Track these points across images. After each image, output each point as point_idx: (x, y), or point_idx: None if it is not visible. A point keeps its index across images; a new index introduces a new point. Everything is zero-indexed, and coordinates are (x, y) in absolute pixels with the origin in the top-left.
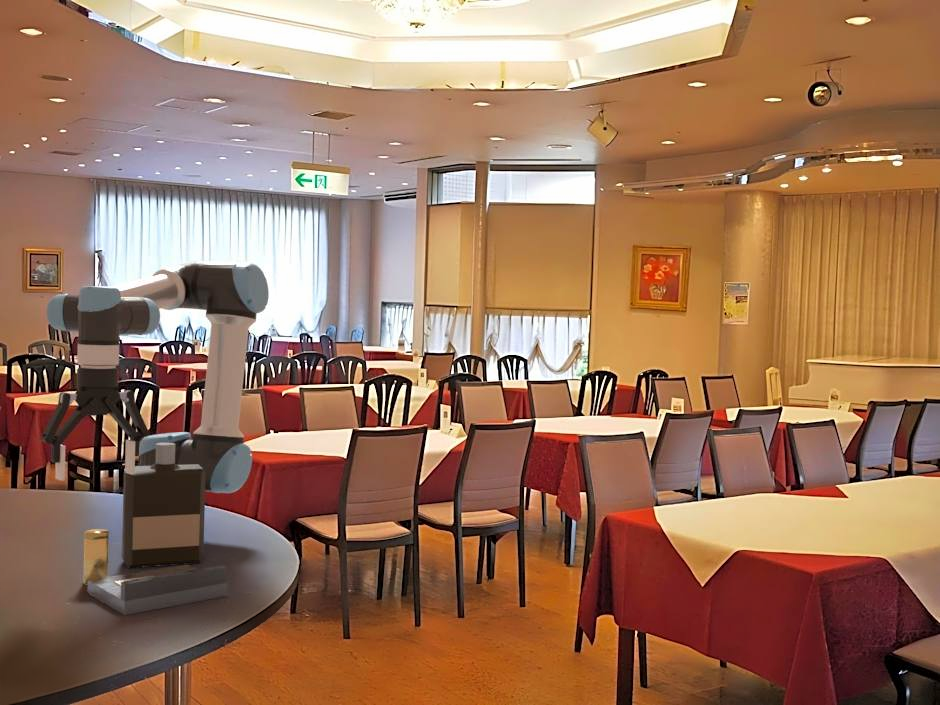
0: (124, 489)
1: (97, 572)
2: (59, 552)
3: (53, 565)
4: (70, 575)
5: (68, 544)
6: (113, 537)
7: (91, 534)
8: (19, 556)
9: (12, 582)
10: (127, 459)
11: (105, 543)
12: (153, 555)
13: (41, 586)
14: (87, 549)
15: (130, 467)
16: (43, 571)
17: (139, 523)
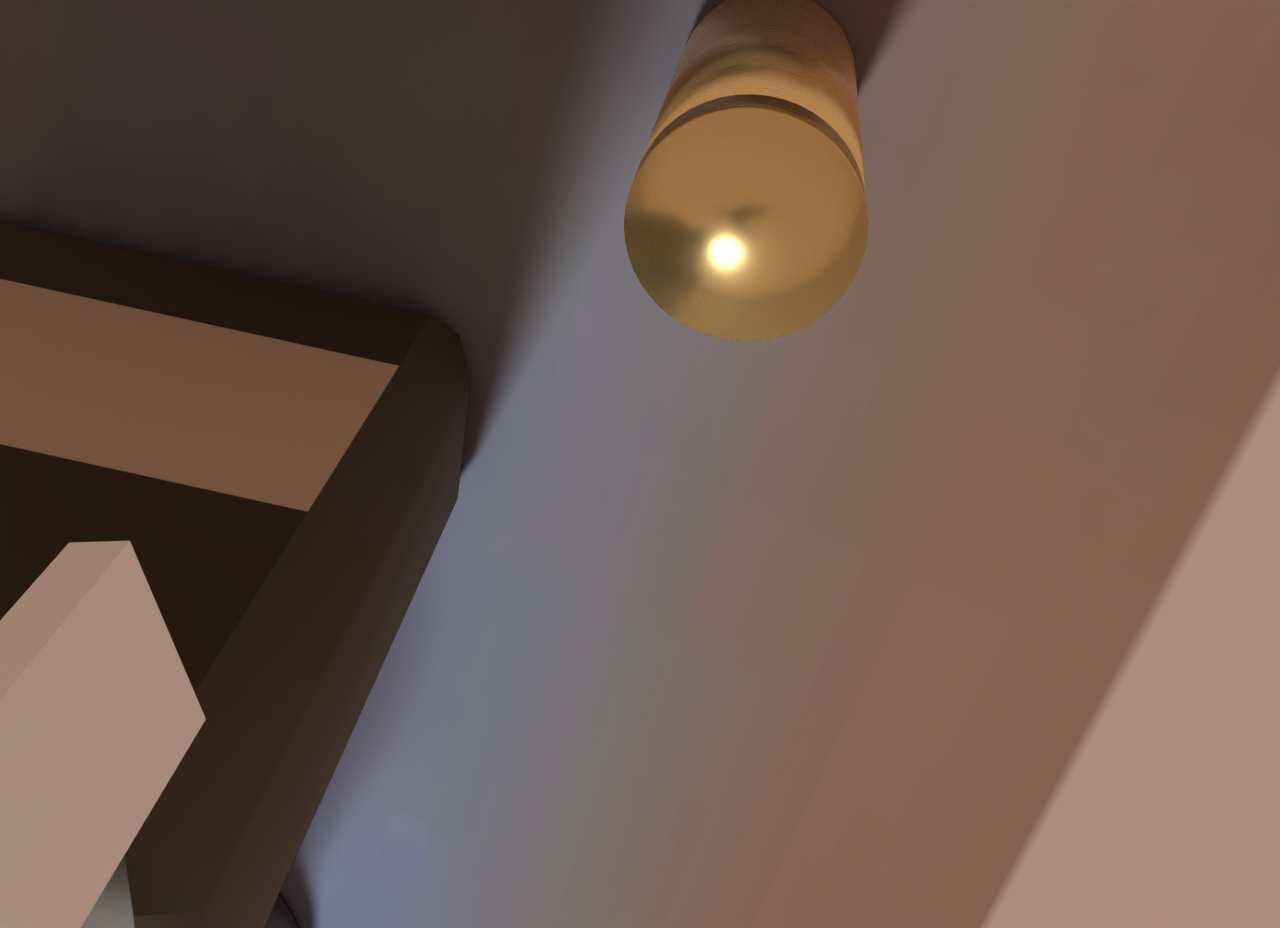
0: (278, 837)
1: (778, 12)
2: (741, 808)
3: (864, 601)
4: (854, 348)
5: (650, 908)
6: (401, 916)
7: (828, 141)
8: (962, 833)
9: (1254, 368)
10: (56, 837)
11: (688, 96)
12: (264, 307)
13: (1137, 177)
14: (853, 123)
15: (73, 634)
16: (969, 512)
17: (273, 465)
